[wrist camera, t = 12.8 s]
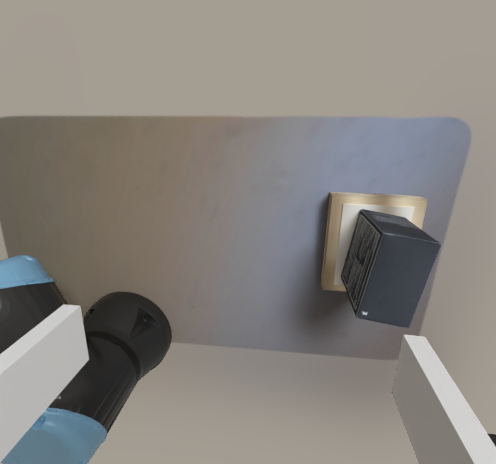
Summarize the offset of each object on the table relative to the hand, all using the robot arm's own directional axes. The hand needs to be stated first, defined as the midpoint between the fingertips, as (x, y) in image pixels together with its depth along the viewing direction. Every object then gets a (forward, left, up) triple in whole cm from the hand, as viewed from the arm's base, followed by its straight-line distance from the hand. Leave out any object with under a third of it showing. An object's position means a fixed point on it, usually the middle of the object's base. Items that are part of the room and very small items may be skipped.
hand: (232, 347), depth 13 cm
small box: (+14, -7, -32) cm, 36 cm away
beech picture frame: (+14, -7, -35) cm, 38 cm away
